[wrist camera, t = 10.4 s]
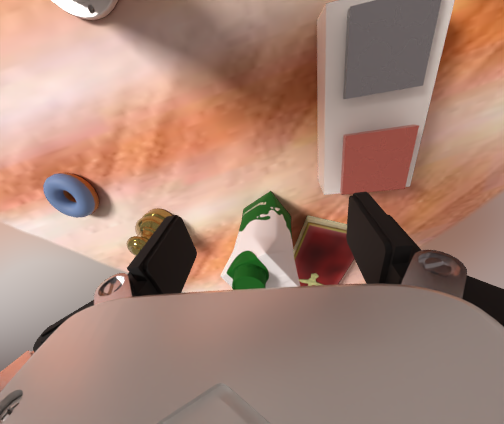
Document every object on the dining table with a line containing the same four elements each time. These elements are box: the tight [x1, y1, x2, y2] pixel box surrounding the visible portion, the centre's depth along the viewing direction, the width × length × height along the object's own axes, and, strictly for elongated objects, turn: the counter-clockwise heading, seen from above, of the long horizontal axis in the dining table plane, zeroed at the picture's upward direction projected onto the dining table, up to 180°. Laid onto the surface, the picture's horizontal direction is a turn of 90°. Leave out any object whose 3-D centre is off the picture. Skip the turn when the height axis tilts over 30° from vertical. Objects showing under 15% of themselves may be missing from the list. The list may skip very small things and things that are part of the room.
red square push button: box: [340, 124, 419, 195], centre depth 29 cm, size 8×8×6 cm
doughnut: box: [44, 173, 99, 217], centre depth 43 cm, size 10×10×5 cm
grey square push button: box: [343, 0, 441, 99], centre depth 24 cm, size 8×8×6 cm
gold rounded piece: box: [127, 209, 172, 256], centre depth 42 cm, size 7×7×10 cm
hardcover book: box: [293, 215, 355, 286], centre depth 45 cm, size 12×21×4 cm, turn 169°
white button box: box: [317, 0, 455, 195], centre depth 28 cm, size 22×12×6 cm, turn 10°
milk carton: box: [221, 191, 300, 290], centre depth 33 cm, size 9×9×20 cm
